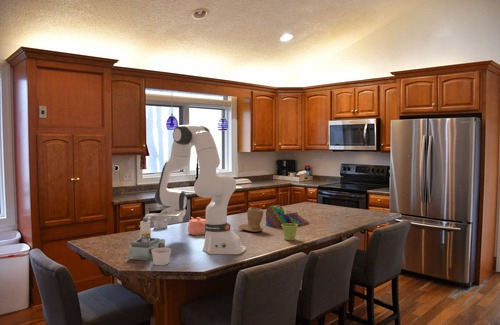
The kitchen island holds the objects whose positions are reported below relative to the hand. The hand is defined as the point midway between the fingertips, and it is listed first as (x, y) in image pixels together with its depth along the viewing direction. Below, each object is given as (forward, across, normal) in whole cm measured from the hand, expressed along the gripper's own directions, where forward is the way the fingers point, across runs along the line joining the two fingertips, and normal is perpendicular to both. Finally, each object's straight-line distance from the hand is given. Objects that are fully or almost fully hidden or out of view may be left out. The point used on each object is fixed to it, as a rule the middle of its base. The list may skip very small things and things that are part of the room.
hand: (156, 220), depth 209 cm
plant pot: (-38, +64, +17) cm, 76 cm away
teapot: (-41, +6, +16) cm, 44 cm away
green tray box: (+10, 0, +16) cm, 19 cm away
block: (-81, +56, +17) cm, 100 cm away
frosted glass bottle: (+12, 0, +10) cm, 16 cm away
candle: (+22, +13, +16) cm, 31 cm away
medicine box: (-52, -24, +15) cm, 59 cm away
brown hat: (-57, +38, +16) cm, 70 cm away
